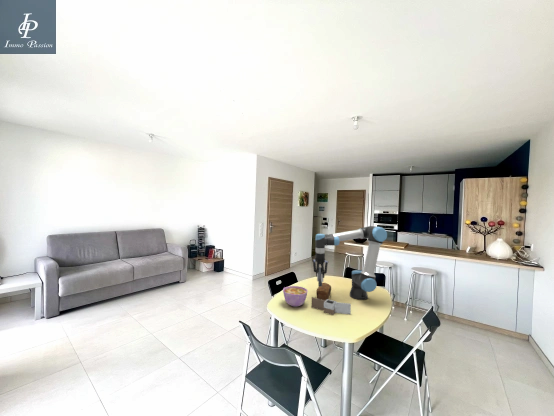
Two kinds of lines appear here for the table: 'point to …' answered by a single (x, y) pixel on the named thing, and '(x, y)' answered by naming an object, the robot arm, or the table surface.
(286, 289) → the bowl of food
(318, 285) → the hinge pin
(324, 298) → the bread
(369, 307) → the table surface
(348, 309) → the hinge leaves
